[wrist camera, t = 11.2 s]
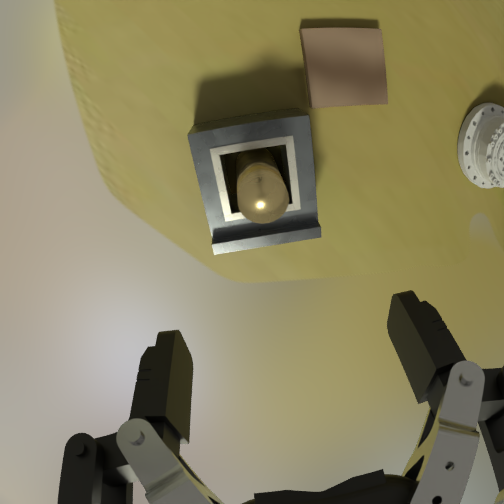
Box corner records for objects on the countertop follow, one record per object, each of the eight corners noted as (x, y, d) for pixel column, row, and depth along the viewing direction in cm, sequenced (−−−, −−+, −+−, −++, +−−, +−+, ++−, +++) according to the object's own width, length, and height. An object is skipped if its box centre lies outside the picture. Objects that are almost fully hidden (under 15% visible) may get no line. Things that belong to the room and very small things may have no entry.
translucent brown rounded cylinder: (232, 149, 27) (233, 181, 20) (271, 143, 27) (286, 172, 20) (239, 184, 29) (242, 227, 22) (276, 178, 28) (291, 219, 22)
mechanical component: (521, 137, 26) (483, 83, 23) (544, 149, 23) (510, 91, 19) (484, 197, 31) (441, 152, 28) (506, 214, 27) (466, 167, 24)
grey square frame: (193, 125, 25) (185, 137, 21) (298, 108, 25) (312, 117, 21) (216, 225, 31) (214, 254, 27) (308, 210, 30) (321, 237, 26)
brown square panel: (299, 29, 21) (301, 28, 20) (376, 29, 21) (381, 29, 20) (309, 106, 25) (312, 108, 24) (383, 102, 25) (387, 104, 24)
